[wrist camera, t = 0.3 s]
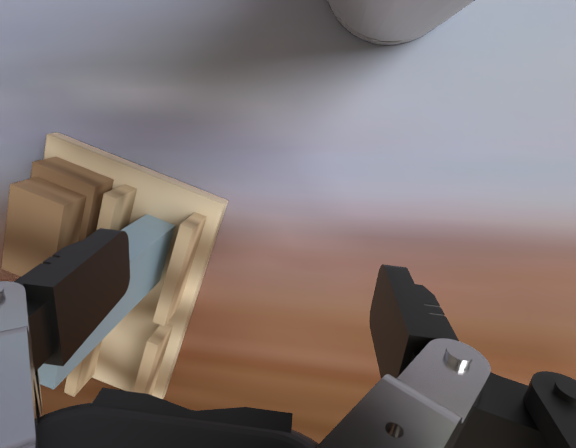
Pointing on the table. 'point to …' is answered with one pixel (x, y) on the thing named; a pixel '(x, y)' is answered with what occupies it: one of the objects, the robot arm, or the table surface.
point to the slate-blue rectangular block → (143, 278)
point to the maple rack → (175, 277)
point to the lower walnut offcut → (76, 187)
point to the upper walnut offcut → (39, 223)
